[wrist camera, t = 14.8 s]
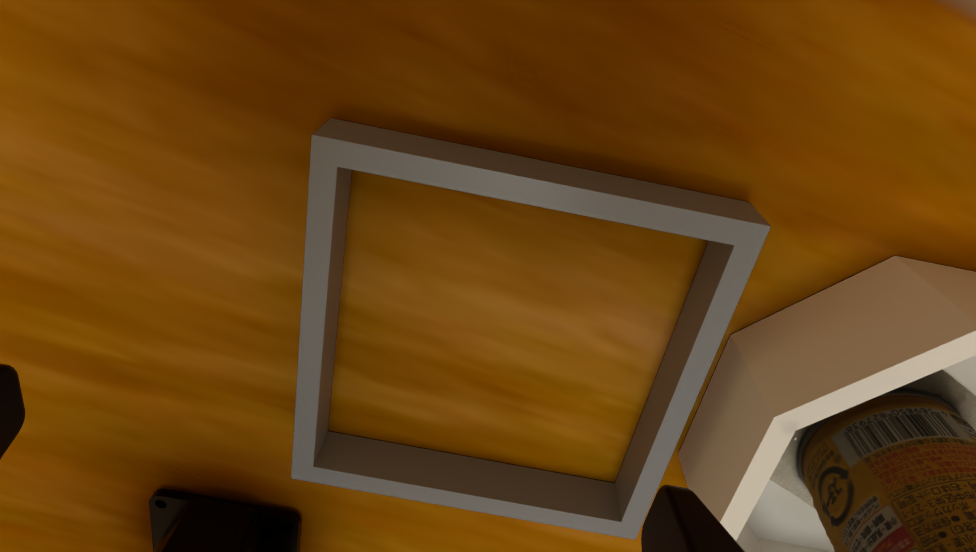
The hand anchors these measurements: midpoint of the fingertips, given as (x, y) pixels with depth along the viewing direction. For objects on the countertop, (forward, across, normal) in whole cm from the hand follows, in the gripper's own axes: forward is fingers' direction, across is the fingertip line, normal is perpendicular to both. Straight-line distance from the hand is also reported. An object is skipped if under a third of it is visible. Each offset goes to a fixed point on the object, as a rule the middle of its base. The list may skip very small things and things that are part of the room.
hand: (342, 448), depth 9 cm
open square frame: (+13, -3, +6) cm, 15 cm away
